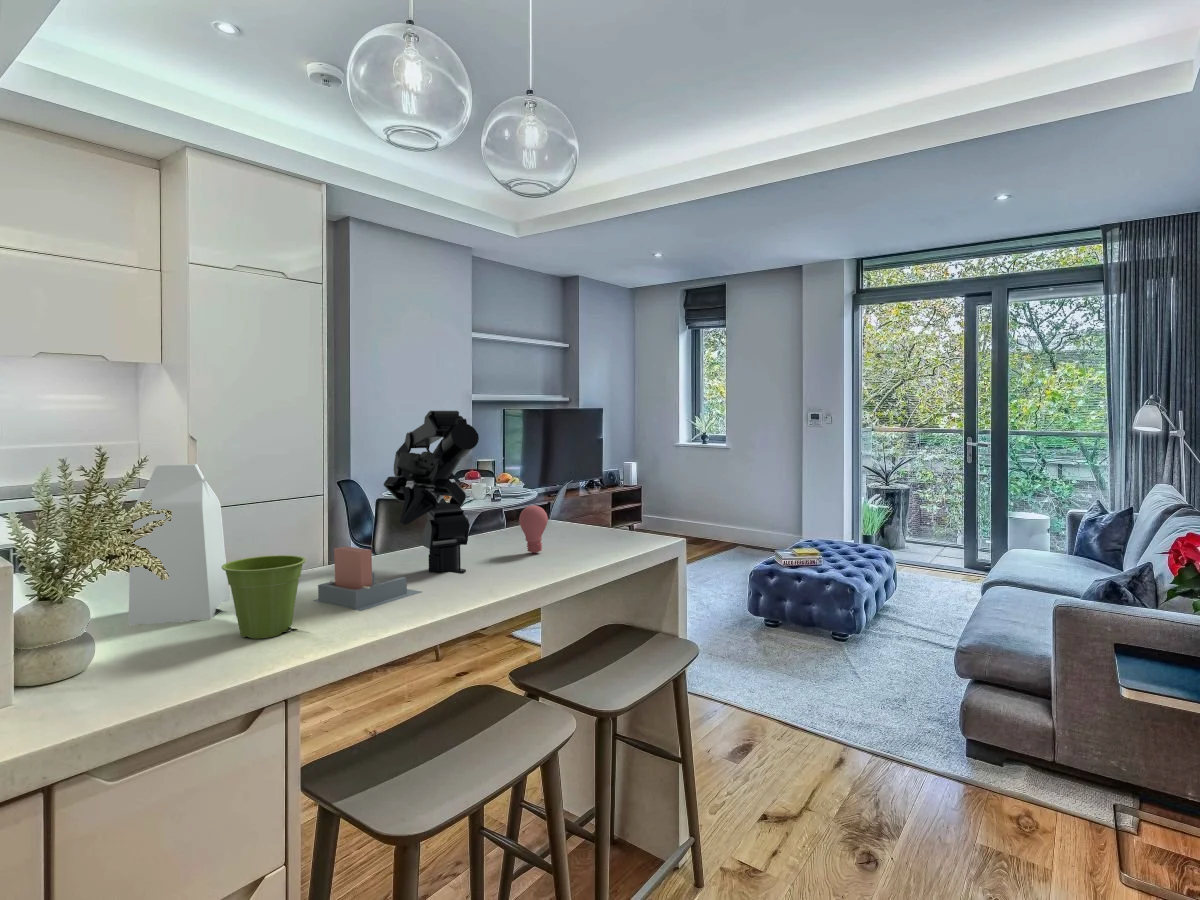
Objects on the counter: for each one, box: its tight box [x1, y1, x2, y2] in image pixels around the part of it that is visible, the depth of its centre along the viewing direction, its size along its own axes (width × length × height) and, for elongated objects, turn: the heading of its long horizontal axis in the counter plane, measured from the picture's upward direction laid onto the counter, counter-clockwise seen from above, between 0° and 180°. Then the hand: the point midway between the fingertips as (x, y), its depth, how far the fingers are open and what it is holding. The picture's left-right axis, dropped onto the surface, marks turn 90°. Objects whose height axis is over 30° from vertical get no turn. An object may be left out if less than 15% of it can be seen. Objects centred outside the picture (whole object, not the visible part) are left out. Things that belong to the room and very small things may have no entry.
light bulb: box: [518, 505, 549, 554], centre depth 163 cm, size 7×7×12 cm
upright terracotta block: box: [333, 545, 373, 590], centre depth 118 cm, size 3×7×9 cm, turn 60°
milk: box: [128, 463, 230, 626], centre depth 113 cm, size 12×12×26 cm
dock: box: [313, 571, 423, 612], centre depth 120 cm, size 14×13×4 cm
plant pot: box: [222, 554, 307, 640], centre depth 103 cm, size 12×12×11 cm
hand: (402, 524), depth 127 cm, fingers closed
